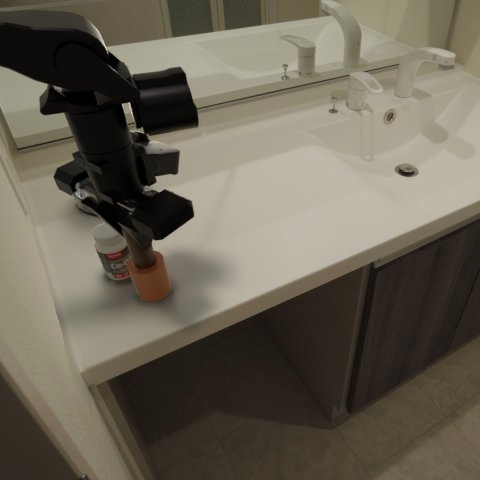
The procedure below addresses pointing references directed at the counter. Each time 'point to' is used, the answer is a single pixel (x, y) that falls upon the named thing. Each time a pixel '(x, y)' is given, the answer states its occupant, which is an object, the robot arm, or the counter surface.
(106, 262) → the pill bottle
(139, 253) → the brown cylinder
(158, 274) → the orange cylinder cap
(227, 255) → the counter surface
